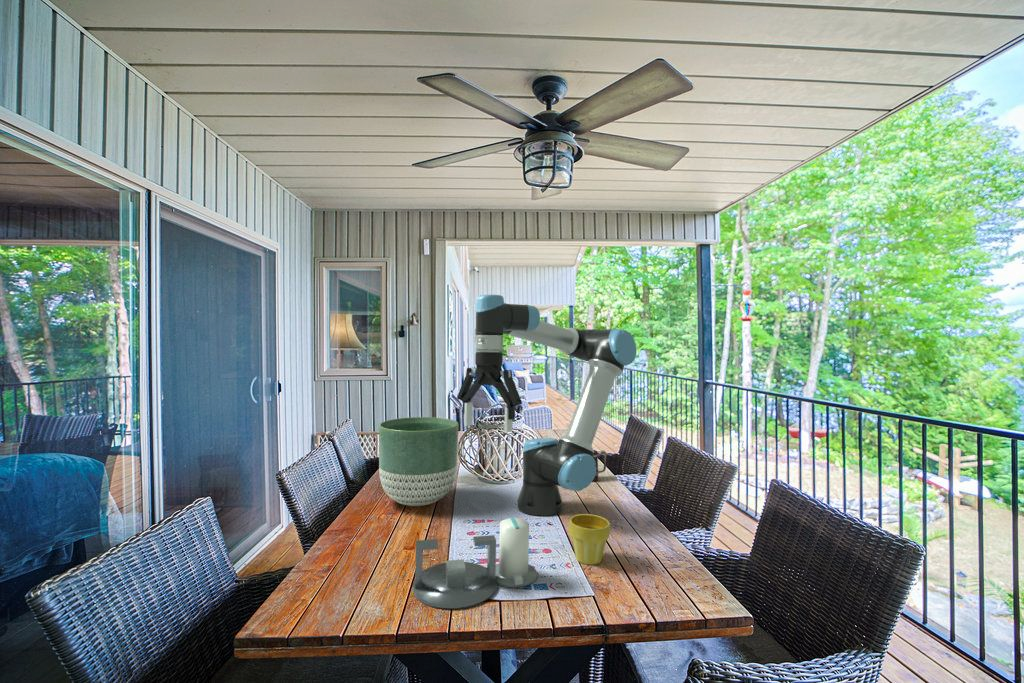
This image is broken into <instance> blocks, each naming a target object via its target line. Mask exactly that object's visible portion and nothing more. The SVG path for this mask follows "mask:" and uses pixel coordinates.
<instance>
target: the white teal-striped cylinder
mask: <svg viewBox="0 0 1024 683" xmlns="http://www.w3.org/2000/svg"><path fill="white" fill-rule="evenodd" d="M498 546H499V547H498V548H499V550H498V551H499V553H498V555H499V556H498V557H499V558H498V564H499V574H500V575H501V576H502V577H504V578H506V579H511V580H513V581H514V584H515V585H521V584H523V578H524V577H526V576H527V575H528V564H529V556H530V553H529V551H530V549H529V548H530V522H528V520H526V519H523V518H519V517H518V518H516V517H509V518H505V519H503V520H501V521H500V522H499V545H498Z"/></svg>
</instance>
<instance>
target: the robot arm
mask: <svg viewBox="0 0 1024 683" xmlns="http://www.w3.org/2000/svg"><path fill="white" fill-rule="evenodd" d="M504 299H505V298H504V296H503V295H500V294H480V295H478V296H477V299H476V302H475V303H476V305H475V306H476V307H475V350H477V351H476V352H475V353H474V354H475V356H474V358H475V359H474V360H475V361H474V362H475V365H476V368H475V367H467V368H466V370H465V371H466V372H465V376H464V379H463V380H462V384H461V386H460V388H459V391H458V393H457V396H456V398H457V400H459V401H461V402H462V413H463V414H464V416H463V418H464V420H463V421H464V422H463V426H464V427H469V426H470V427H471V426H473V413H474V412H473V411H474V410H473V409H474V408H473V405H474V402H473V401H472V399H473V398H474V397H475V395H476V394H477V392H478V391H479V390H480V388H481V387H482V386H490V387H491V386H493V388H495V389H496V392H498V393H499V396H500V397H501V399H502V400H503V402H504V403H505V405H506V406H505V407H504V427H503V428H504V431H503V432H504V433H509V432H512V431H513V420H515V418H516V407H517V406H521V405H522V404H523V403H522V401H523V400H522V399H521V396H520V394H519V392H518V388H517V386H516V384H515V381H514V378H513V371H512V369H504V370H503V369H502V365H503V364H504V363H503V359H504V358H503V357H504V356H503V355H504V354H503V352H502V351H503V350H504V335H508V336H511V337H514V338H518V339H522V340H524V341H528V342H531V343H534V344H535V343H536V344H538V345H543V346H545V347H550V348H551V349H552V348H553V349H556V350H559V351H560V352H561V353H562V354H563V355H567V356H570V357H573V358H576V359H579V360H581V361H585V362H587V363H588V365H589V371H588V373H587V377H586V379H585V382H584V385H583V387H582V390H581V392H580V395H579V398H578V400H577V404H576V406H575V409H574V411H573V415H572V417H571V420H570V423H569V426H568V429H567V432H566V434H565V435H564V436H562V437H559V438H558V439H557V438H554V437H546V438H545V437H541V438H539V437H538V438H531V439H528V440H526V441H525V442H524V443H523V451H522V453H523V455H522V457H523V459H522V460H523V462H522V467H523V468H522V469H523V470H522V477H523V478H522V486H521V489H520V492H519V495H518V498H517V505H516V506H517V507H518V508H517V509H518V510H519V511H520V512H521V511H522V513H523V512H524V514H526V513H527V515H530V514H532V515H531V516H537V515H541V516H542V517H543V515H544V516H545V517H546V516H547V515H548V516H553V515H557V514H559V513H561V512H562V511H563V498H562V496H561V493H560V489H559V487H561V488H562V489H565V490H569V491H573V492H580V491H582V490H584V489H586V488H587V487H589V486H590V485H591V483H593V482H592V481H593V479H594V477H595V474H596V466H595V465H596V462H595V460H594V459H593V455H594V450H595V449H593V446H592V445H593V442H594V440H595V437H596V434H597V431H598V429H599V425H600V423H601V419H602V416H603V414H604V411H605V408H606V405H607V401H608V399H609V397H610V393H611V390H612V389H613V388H612V387H613V385H614V382H615V380H616V377H617V376H619V375H621V374H623V371H624V368H625V366H628V365H631V364H632V363H633V362H634V361H635V359H636V357H637V344H636V340H635V338H634V336H633V335H632V334H631V333H630V332H629V330H626V329H618V328H612V329H611V328H610V329H608V328H607V329H603V328H602V329H595V328H594V329H580V328H575V327H568V328H565V327H562V326H559V325H555V324H552V323H549V322H546V321H543V320H541V315H540V314H541V313H540V311H539V309H538V308H537V307H536V306H535V305H529V304H516V303H515V304H514V303H507V302H505V300H504ZM475 375H476V376H475ZM475 377H476V378H475ZM474 378H475V379H474ZM502 378H503V379H502ZM503 380H504V381H503Z"/></svg>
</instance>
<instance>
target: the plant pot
mask: <svg viewBox="0 0 1024 683" xmlns="http://www.w3.org/2000/svg"><path fill="white" fill-rule="evenodd" d="M568 522H569V524H568V526H569V527H568V528H569V529H568V530H569V534H570V535H571V538H572V544H573V550H574V556H575V559H576V561H578V562H579V563H581V564H585V565H591V566H592V565H597V564H600V562H602V559H603V555H604V550H605V547H606V543H607V540H608V539H609V538H610V533H611V523H610V521H609V520H608V519H607V518H605V517H603V516H599V515H597V514H591V513H580V514H575V515H572V516H571V517H570V518H569V521H568Z"/></svg>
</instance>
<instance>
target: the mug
mask: <svg viewBox="0 0 1024 683" xmlns="http://www.w3.org/2000/svg"><path fill="white" fill-rule="evenodd" d="M593 450H594V455H593V459H594V460H595V462H596V465H595V466H596V474H595V477H594V479H593V481H592V482H591V483H595V482H598V481H599V474H601V473H605V471H606V470H607V452H606V451H605V450H604V449H603V450H600V451H599V452H598V451H597V450H595V449H593ZM601 454H603V455H604V458H603V469H602V470H599V464H598V462H599V459H598V457H599V456H601Z"/></svg>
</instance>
